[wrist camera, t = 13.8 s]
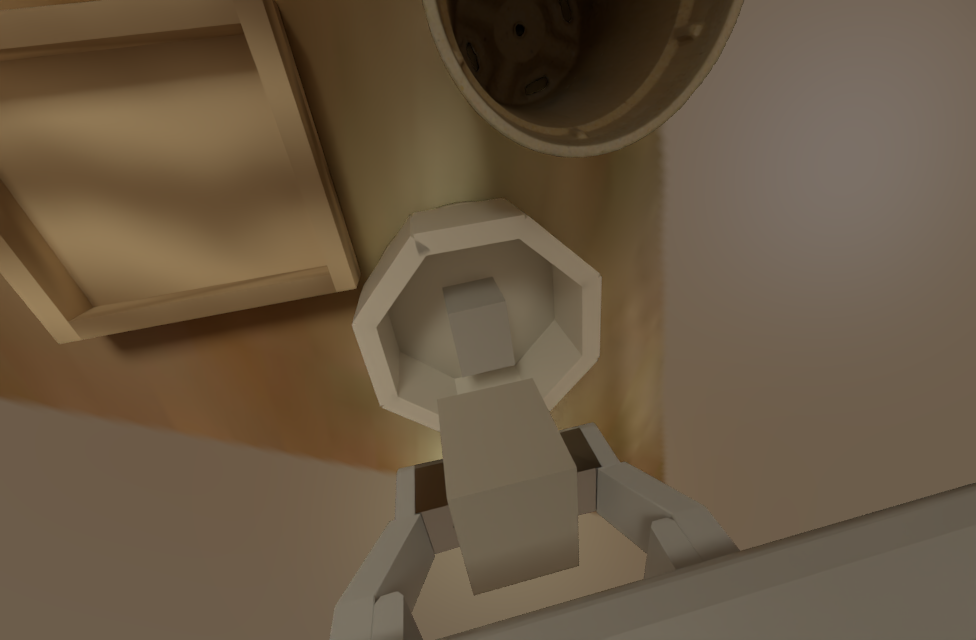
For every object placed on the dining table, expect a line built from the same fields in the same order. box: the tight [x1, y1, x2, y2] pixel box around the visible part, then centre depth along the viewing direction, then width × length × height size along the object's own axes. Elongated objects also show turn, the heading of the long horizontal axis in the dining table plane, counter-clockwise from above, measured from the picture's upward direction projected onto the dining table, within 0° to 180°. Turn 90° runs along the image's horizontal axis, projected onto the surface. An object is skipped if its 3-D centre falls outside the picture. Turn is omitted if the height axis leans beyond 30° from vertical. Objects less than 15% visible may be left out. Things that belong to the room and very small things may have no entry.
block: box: [437, 378, 579, 595], centre depth 11 cm, size 4×3×4 cm
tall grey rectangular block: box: [442, 277, 515, 377], centre depth 21 cm, size 4×3×4 cm
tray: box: [0, 0, 361, 344], centre depth 16 cm, size 12×14×2 cm
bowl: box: [352, 198, 602, 432], centre depth 21 cm, size 12×12×5 cm
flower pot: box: [422, 0, 744, 158], centre depth 13 cm, size 9×9×9 cm
